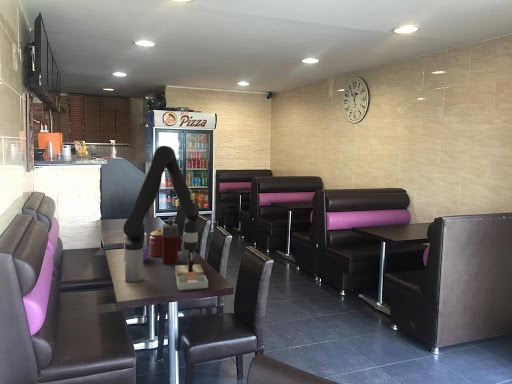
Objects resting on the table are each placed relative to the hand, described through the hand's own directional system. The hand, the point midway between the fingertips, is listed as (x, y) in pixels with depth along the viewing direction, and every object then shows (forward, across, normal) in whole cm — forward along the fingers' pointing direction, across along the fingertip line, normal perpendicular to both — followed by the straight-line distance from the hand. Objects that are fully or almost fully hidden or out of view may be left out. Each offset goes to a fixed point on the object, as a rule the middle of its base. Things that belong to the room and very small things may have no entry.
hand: (190, 271), depth 215 cm
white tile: (+2, +8, 0) cm, 9 cm away
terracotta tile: (+3, +3, 0) cm, 4 cm away
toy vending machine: (+6, -39, -8) cm, 40 cm away
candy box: (+6, -49, -30) cm, 58 cm away
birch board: (+6, -7, 0) cm, 9 cm away
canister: (+6, -59, -15) cm, 61 cm away
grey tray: (+6, +6, 0) cm, 8 cm away
